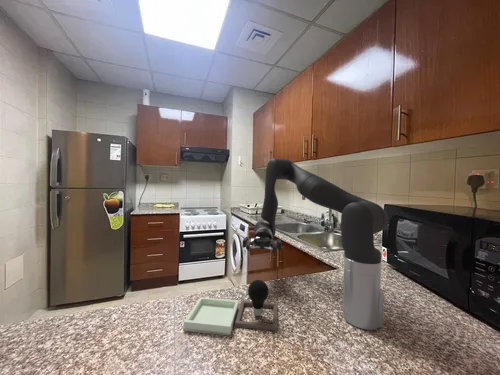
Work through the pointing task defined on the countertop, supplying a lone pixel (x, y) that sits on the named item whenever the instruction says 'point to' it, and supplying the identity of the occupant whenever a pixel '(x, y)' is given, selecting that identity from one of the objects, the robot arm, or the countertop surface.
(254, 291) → the light bulb
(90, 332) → the countertop surface
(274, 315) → the brown square frame
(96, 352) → the countertop surface
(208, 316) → the parts tray
